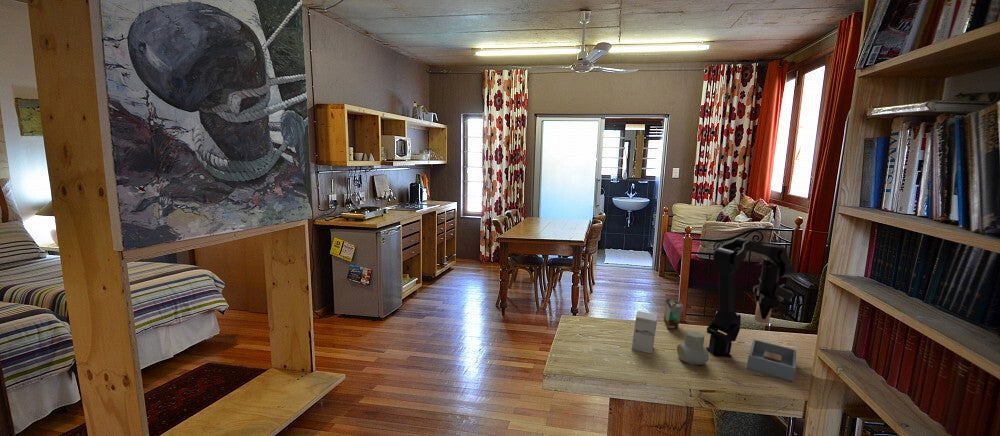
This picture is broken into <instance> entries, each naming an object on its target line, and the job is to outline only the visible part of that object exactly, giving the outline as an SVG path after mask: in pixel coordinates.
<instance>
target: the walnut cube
mask: <svg viewBox="0 0 1000 436" xmlns="http://www.w3.org/2000/svg"><path fill="white" fill-rule="evenodd" d="M781 357H782V355H779V354H775V353H771V352H768V351H765V353H764V358H763V359H767V360H770V361H774V362H778V363H781Z"/></svg>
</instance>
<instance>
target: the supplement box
mask: <svg viewBox="0 0 1000 436" xmlns="http://www.w3.org/2000/svg"><path fill="white" fill-rule="evenodd" d="M658 317H659V315H658V314H654V313H650V312H644V311H640V310H637V311H636V316H635V323H634V330H633V336H632V344H631V350H634V351H638V352H639V351H640V352H644V353H648V354H650V355H651V354H653V350H654V343H655V337H656V332H657V324H658V323H657V322H658Z"/></svg>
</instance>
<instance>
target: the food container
mask: <svg viewBox="0 0 1000 436" xmlns="http://www.w3.org/2000/svg"><path fill="white" fill-rule="evenodd" d="M684 310H685V308H684V304H683V303H682V302H680V300H679V301H678V300H676V299H672V298H668V297H666V298H665V308H664V317H663V322H664V325H665V327H666V330H669V331H670V330H672V331H673V330H674V331H675V330H677V329H678V328H679V325H680V321H681V317H682V312H684Z"/></svg>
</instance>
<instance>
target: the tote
mask: <svg viewBox="0 0 1000 436" xmlns="http://www.w3.org/2000/svg"><path fill="white" fill-rule="evenodd" d="M765 351H768V352H771V353H775V354H779V355H782V357H781V363H778V362H774V361H770V360H767V359H763V358H764V353H765ZM746 370H748V371H752V372H756V373H757V374H758V373H759V374H762V375H766V376H769V377H773V378H776V379H779V380H783V381H786V382H789V383H794V381H795V376H796V370H797V349H793V348H789V347H785V346H782V345H778V344H773V343H769V342H766V341H762V340H758V339H755V338H752V342H751V346H750V349H749V354H748V358H747V363H746Z"/></svg>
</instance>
